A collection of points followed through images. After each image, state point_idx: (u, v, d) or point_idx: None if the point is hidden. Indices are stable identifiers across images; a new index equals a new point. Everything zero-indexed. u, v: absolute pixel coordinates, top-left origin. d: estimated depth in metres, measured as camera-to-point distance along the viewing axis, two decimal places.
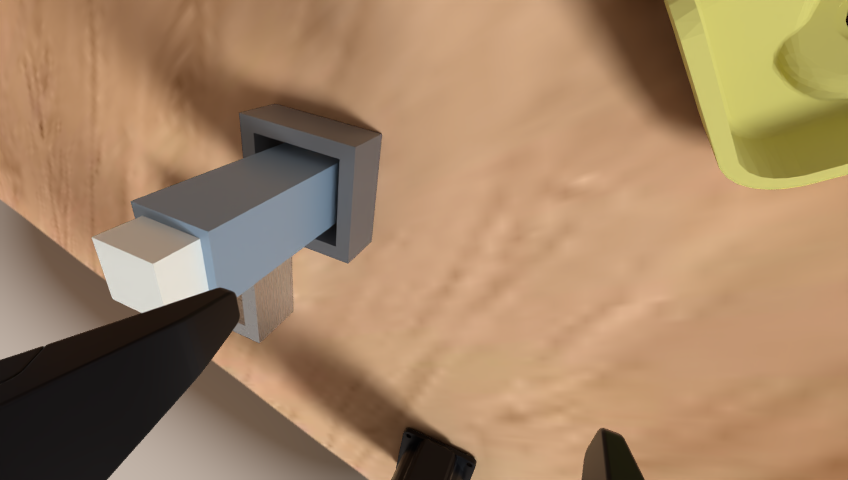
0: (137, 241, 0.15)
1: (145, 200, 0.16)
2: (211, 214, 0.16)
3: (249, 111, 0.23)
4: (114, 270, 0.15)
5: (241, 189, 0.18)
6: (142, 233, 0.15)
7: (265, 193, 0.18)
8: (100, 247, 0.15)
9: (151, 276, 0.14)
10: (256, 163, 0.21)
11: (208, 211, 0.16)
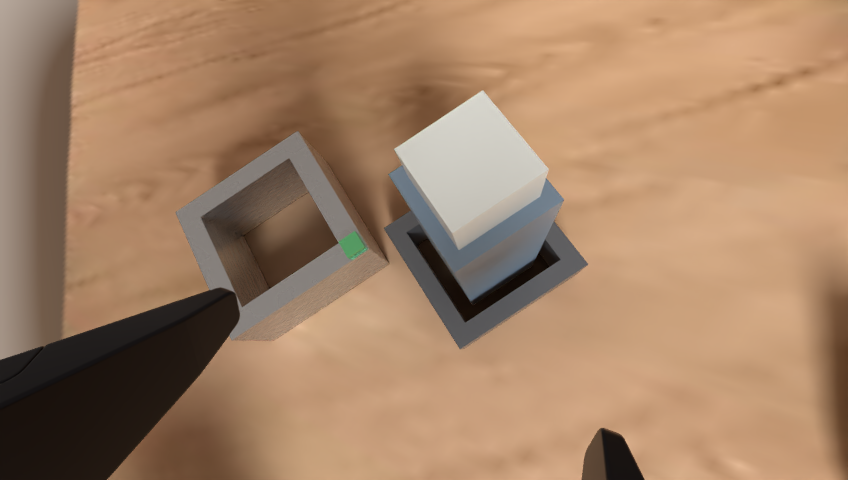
0: None
1: None
2: None
3: None
4: (460, 132, 0.11)
5: None
6: None
7: None
8: (481, 105, 0.11)
9: (520, 175, 0.10)
10: None
11: None
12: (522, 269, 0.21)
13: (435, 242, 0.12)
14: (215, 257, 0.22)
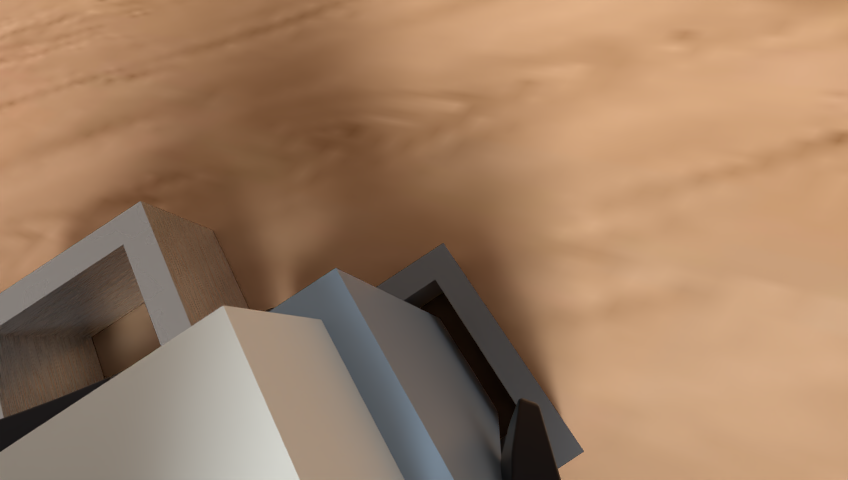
0: (330, 448, 0.04)
1: (356, 292, 0.06)
2: (468, 467, 0.05)
3: None
4: (125, 470, 0.03)
5: (457, 400, 0.08)
6: (334, 407, 0.04)
7: (487, 447, 0.08)
8: (209, 363, 0.03)
9: None
10: (434, 334, 0.11)
11: (458, 451, 0.06)
12: None
13: None
14: None
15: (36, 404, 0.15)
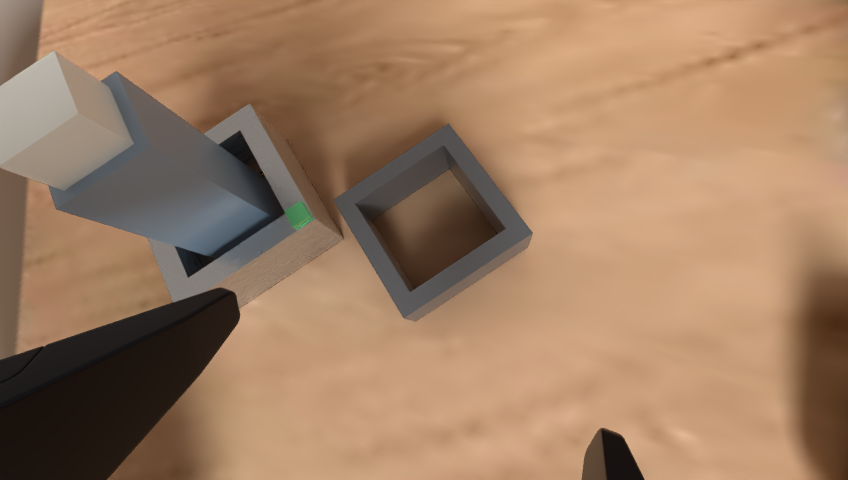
0: (85, 91, 0.13)
1: (127, 83, 0.16)
2: (164, 142, 0.15)
3: None
4: (27, 85, 0.13)
5: (201, 157, 0.18)
6: (95, 93, 0.14)
7: (215, 178, 0.18)
8: (49, 62, 0.13)
9: (57, 118, 0.12)
10: (227, 158, 0.21)
11: (164, 138, 0.15)
12: None
13: None
14: None
15: None
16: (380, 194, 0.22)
